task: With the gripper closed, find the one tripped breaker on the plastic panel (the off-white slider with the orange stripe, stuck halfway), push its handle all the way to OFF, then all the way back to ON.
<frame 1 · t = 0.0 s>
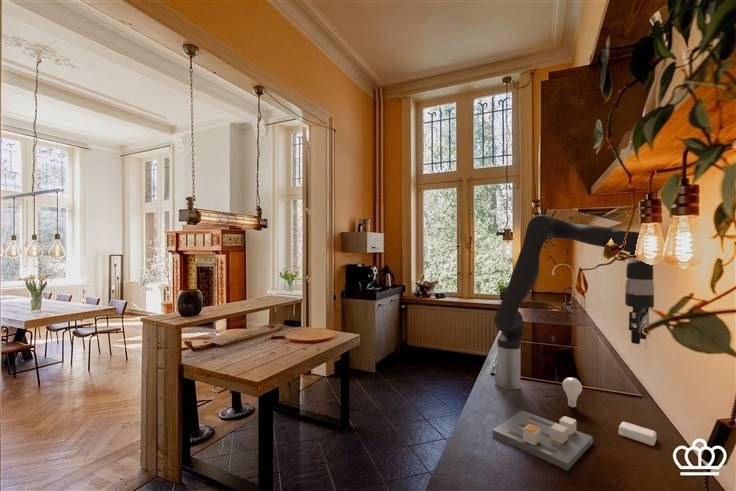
hand: (638, 341, 114), 29 cm above the counter, tool pointing down, fingers open, 8 cm apart
lightbulb: (572, 407, 130), on the counter
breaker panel: (541, 439, 108), on the counter
tripped breaker: (531, 434, 104), point 4 cm above the counter, slide at 0.0 cm
soap: (637, 438, 110), on the counter
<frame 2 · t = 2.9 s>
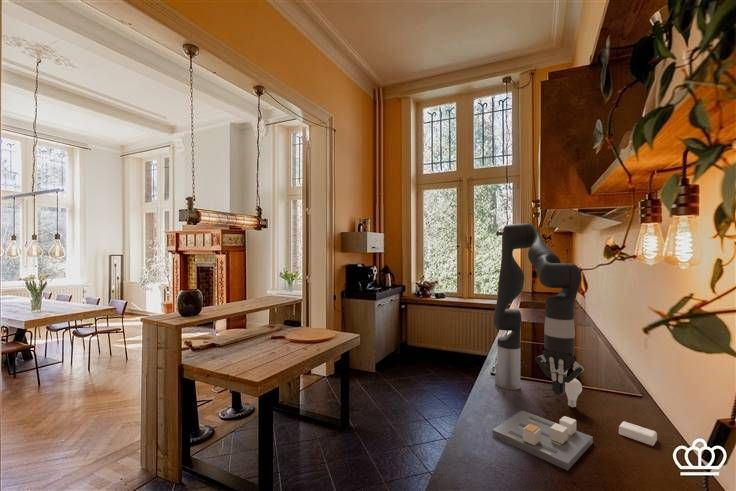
hand: (558, 394, 98), 19 cm above the counter, tool pointing down, fingers closed
nothing on the counter moved.
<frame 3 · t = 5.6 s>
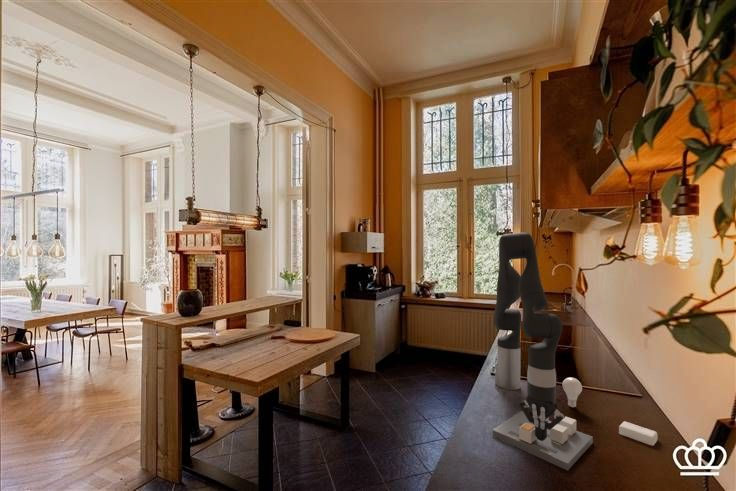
hand: (541, 439, 102), 4 cm above the counter, tool pointing down, fingers closed
tripped breaker: (528, 432, 104), point 4 cm above the counter, slide at -1.1 cm, touching gripper
everything else where it was.
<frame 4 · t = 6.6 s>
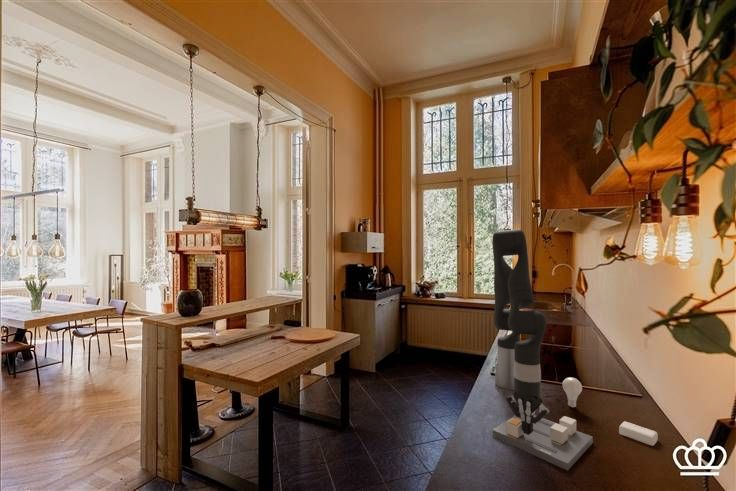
hand: (527, 433, 105), 4 cm above the counter, tool pointing down, fingers closed
tripped breaker: (515, 427, 107), point 4 cm above the counter, slide at -5.1 cm, touching gripper
everything else where it was.
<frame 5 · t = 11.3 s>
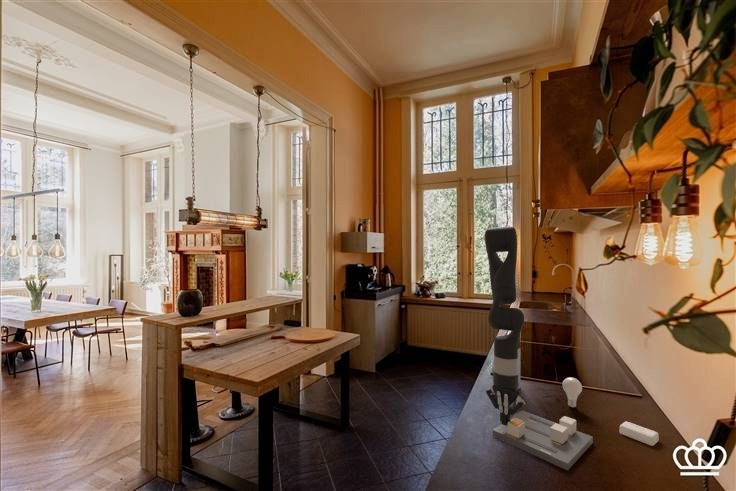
hand: (505, 424, 110), 4 cm above the counter, tool pointing down, fingers closed
tripped breaker: (516, 427, 107), point 4 cm above the counter, slide at -4.8 cm, touching gripper
everything else where it was.
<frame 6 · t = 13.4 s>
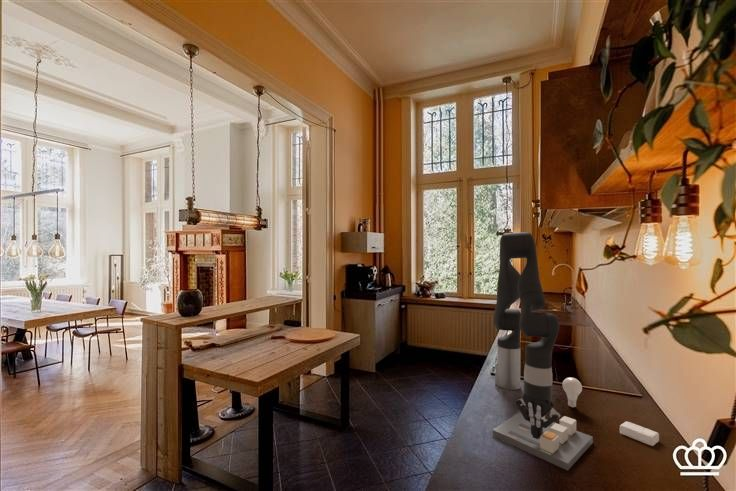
hand: (536, 437, 102), 4 cm above the counter, tool pointing down, fingers closed
tripped breaker: (549, 441, 100), point 4 cm above the counter, slide at 5.1 cm, touching gripper
everything else where it was.
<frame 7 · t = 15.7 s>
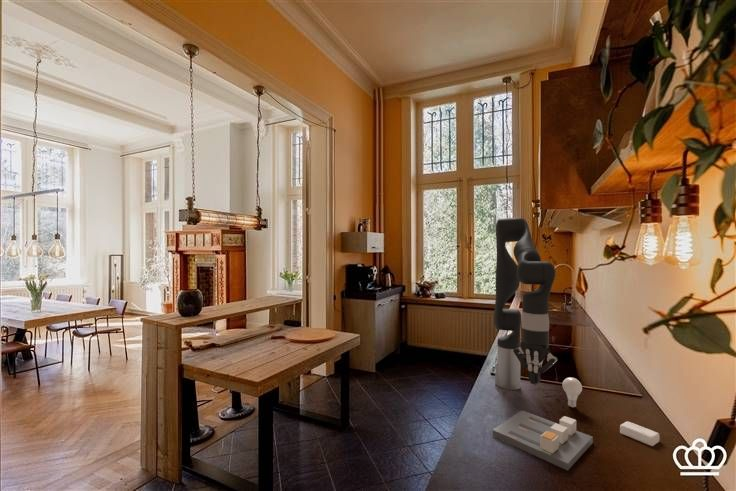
hand: (534, 383, 105), 19 cm above the counter, tool pointing down, fingers closed
tripped breaker: (549, 441, 100), point 4 cm above the counter, slide at 5.1 cm
everything else where it was.
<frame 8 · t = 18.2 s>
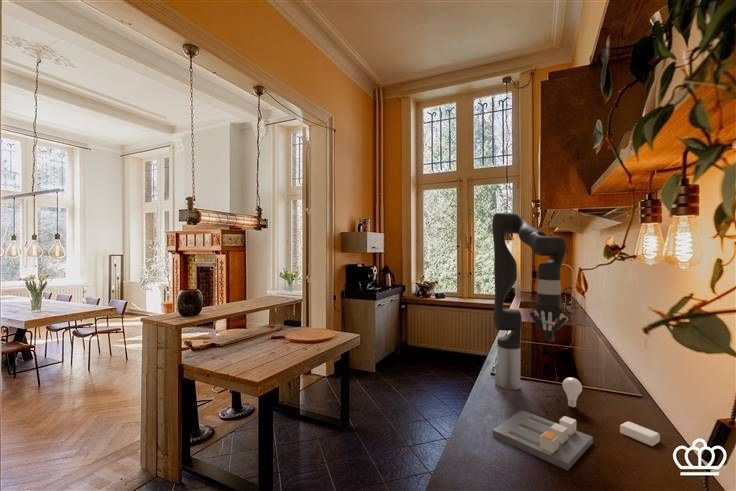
hand: (548, 340, 123), 27 cm above the counter, tool pointing down, fingers closed
nothing on the counter moved.
at the end: tripped breaker slide at 5.1 cm; soap moved 0.9 cm from its start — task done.
